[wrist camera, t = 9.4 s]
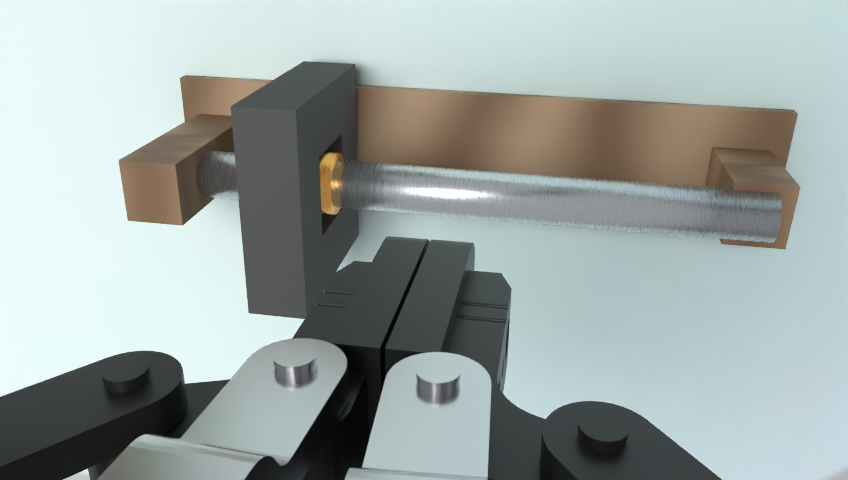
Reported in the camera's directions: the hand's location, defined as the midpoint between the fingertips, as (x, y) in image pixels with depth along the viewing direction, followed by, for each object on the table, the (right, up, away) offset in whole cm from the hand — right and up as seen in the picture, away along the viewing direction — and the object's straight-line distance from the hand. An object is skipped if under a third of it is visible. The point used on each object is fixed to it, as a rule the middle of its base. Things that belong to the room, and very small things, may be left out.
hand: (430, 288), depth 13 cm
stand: (+2, +5, +23) cm, 23 cm away
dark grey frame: (-4, +5, +23) cm, 24 cm away
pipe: (+1, +3, +19) cm, 19 cm away
